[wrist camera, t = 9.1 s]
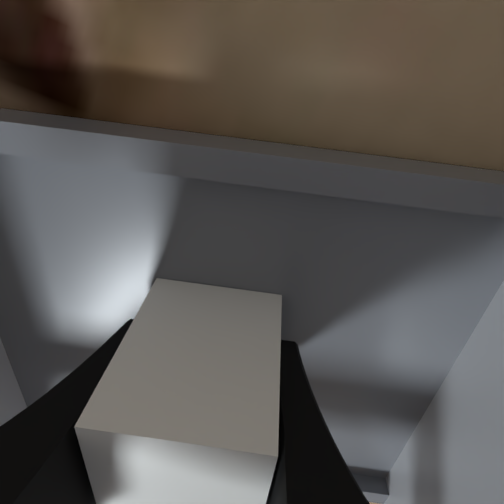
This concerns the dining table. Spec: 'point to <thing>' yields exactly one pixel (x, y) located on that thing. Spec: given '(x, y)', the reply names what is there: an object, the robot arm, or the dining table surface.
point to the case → (273, 279)
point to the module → (188, 400)
